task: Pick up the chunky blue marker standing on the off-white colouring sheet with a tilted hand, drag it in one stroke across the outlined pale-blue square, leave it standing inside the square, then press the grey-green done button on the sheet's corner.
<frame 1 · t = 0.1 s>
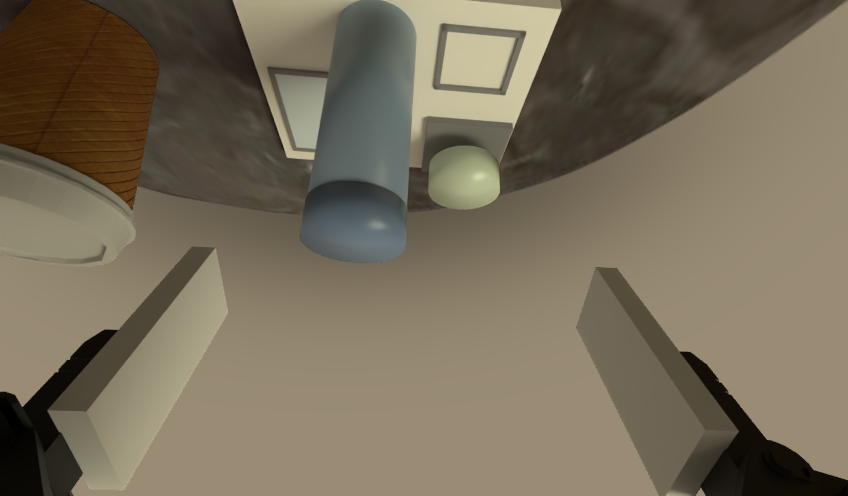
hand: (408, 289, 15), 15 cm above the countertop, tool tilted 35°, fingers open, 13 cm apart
sheet: (395, 90, 27), on the countertop
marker: (376, 36, 23), point 1 cm above the countertop, touching sheet
disposable coffee cup: (99, 42, 25), on the countertop
done button: (463, 179, 30), point 4 cm above the countertop, slide at 0.0 cm
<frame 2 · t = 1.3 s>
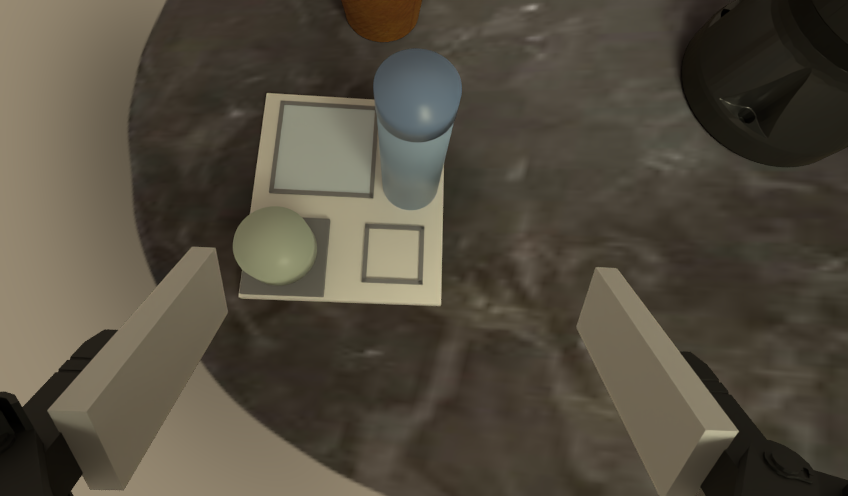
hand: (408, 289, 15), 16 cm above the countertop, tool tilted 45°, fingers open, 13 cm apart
sheet: (350, 197, 33), on the countertop
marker: (410, 183, 33), point 1 cm above the countertop, touching sheet
disposable coffee cup: (382, 13, 37), on the countertop
done button: (276, 246, 28), point 4 cm above the countertop, slide at 0.0 cm
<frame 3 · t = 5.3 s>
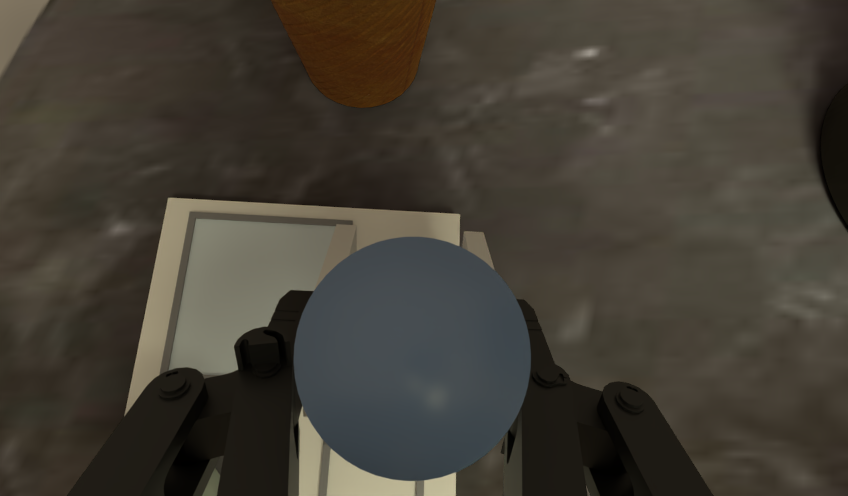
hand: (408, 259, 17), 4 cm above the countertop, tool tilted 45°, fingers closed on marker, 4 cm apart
sheet: (302, 377, 20), on the countertop
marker: (402, 358, 19), point 1 cm above the countertop, touching gripper, sheet
disposable coffee cup: (362, 61, 24), on the countertop
when the fingers open (5 cm above the countertop, at t = 9.3 s): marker stays where it is, resting on sheet.
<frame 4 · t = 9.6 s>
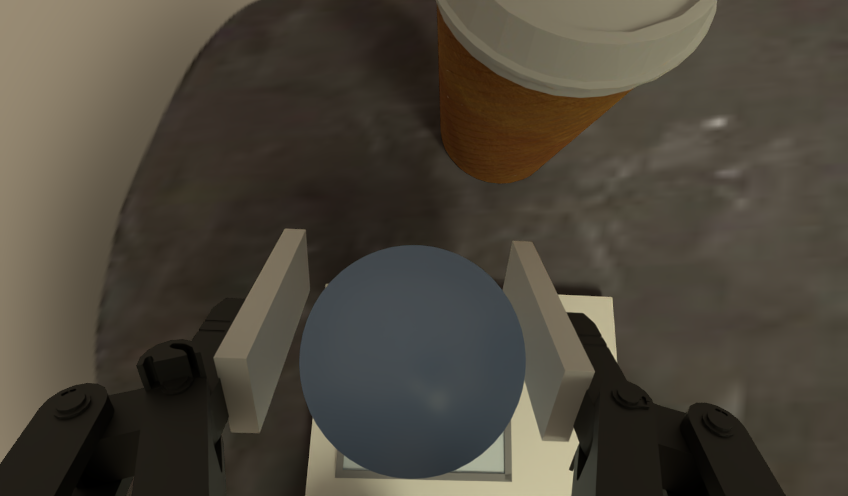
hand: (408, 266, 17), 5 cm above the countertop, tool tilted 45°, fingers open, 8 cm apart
sheet: (467, 467, 20), on the countertop
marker: (402, 359, 20), point 1 cm above the countertop, touching sheet
disposable coffee cup: (495, 133, 24), on the countertop
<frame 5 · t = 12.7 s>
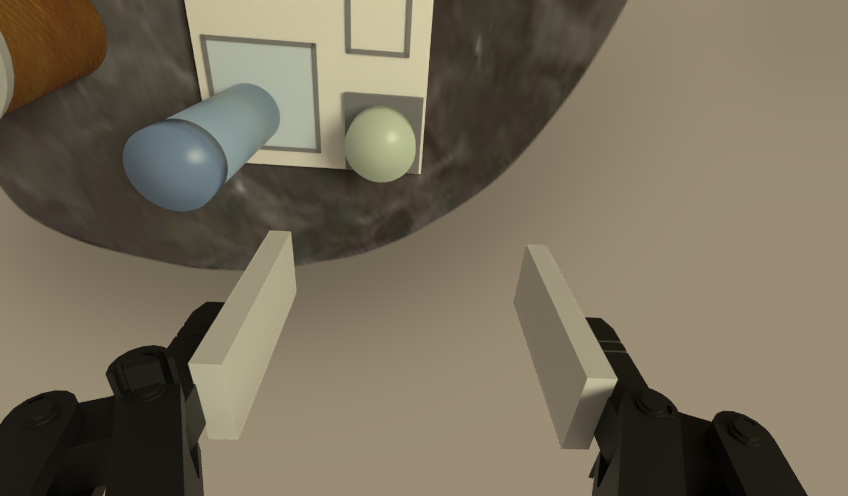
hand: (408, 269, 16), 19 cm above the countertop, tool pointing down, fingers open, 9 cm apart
sheet: (315, 69, 31), on the countertop
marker: (250, 113, 31), point 1 cm above the countertop, touching sheet
disposable coffee cup: (59, 26, 29), on the countertop
done button: (381, 144, 30), point 4 cm above the countertop, slide at 0.0 cm
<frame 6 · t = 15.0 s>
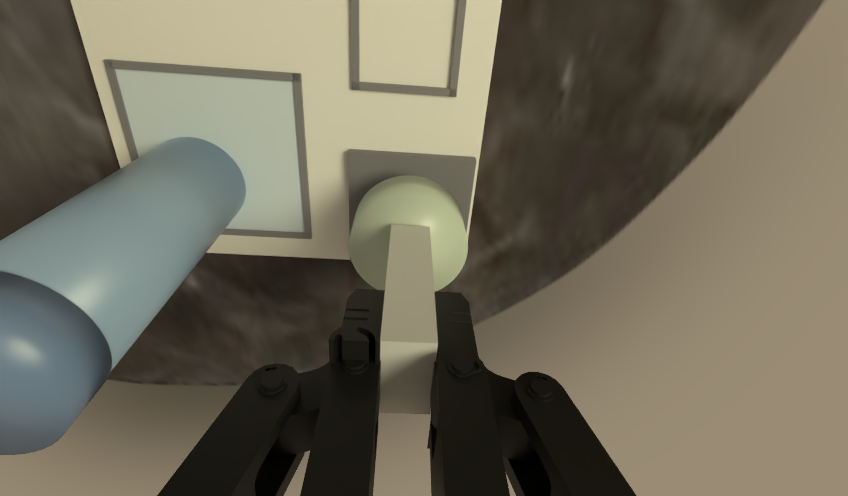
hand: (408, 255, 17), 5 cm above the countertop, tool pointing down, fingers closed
sheet: (301, 113, 19), on the countertop
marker: (198, 182, 20), point 1 cm above the countertop, touching sheet
done button: (408, 237, 18), point 4 cm above the countertop, slide at 0.1 cm, touching gripper
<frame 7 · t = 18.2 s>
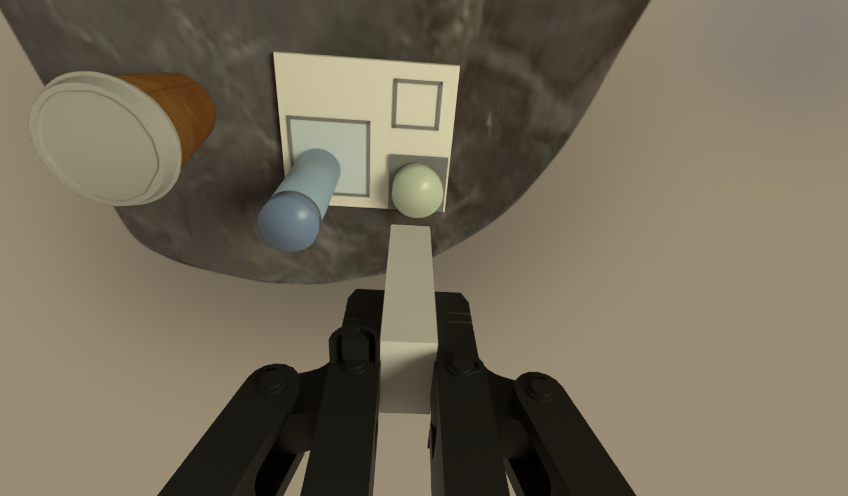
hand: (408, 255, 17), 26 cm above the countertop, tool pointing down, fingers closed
sheet: (367, 137, 41), on the countertop
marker: (318, 169, 42), point 1 cm above the countertop, touching sheet
disposable coffee cup: (181, 108, 40), on the countertop
done button: (417, 190, 41), point 3 cm above the countertop, slide at 0.8 cm
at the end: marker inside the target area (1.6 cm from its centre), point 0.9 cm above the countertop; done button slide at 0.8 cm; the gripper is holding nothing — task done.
